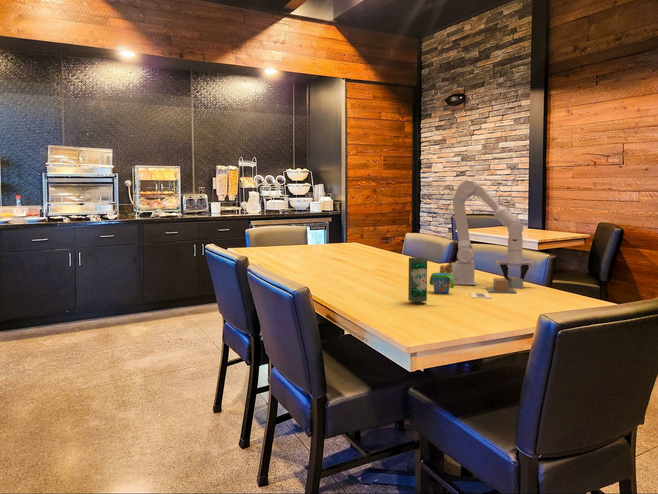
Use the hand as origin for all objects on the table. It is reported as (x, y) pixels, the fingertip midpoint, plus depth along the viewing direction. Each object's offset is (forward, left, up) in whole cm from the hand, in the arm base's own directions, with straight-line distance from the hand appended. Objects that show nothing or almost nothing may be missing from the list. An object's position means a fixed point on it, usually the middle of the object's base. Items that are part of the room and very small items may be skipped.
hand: (513, 283), depth 204 cm
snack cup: (-30, -19, -2) cm, 36 cm away
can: (-39, -36, -2) cm, 53 cm away
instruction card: (-16, -23, -2) cm, 28 cm away
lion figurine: (-26, +28, -2) cm, 38 cm away
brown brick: (-7, -11, -1) cm, 13 cm away
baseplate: (-7, -11, -2) cm, 13 cm away
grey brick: (0, 0, -2) cm, 2 cm away
